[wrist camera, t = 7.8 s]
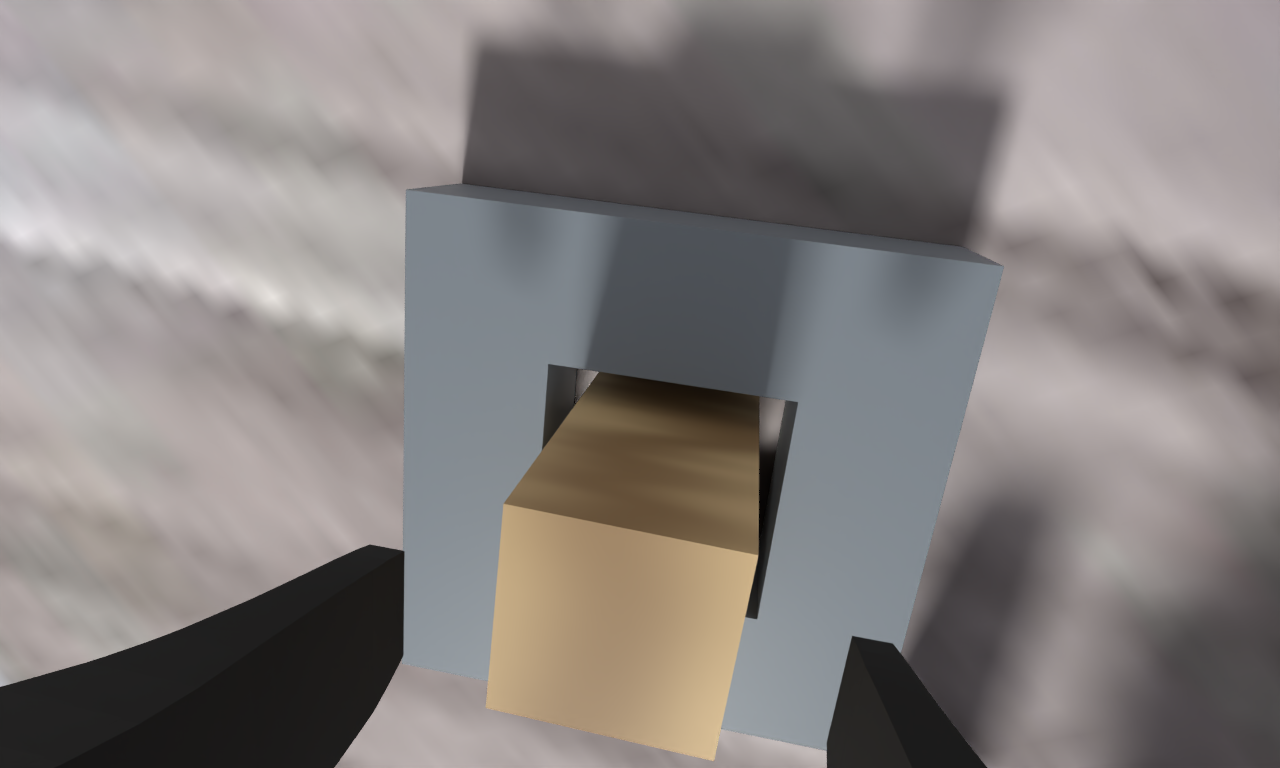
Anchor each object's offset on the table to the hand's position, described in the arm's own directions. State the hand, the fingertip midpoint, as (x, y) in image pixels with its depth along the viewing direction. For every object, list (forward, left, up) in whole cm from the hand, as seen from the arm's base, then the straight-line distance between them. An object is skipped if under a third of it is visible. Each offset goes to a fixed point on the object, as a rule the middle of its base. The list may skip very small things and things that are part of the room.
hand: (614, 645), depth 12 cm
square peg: (0, 0, -8) cm, 8 cm away
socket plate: (0, 0, -8) cm, 8 cm away
